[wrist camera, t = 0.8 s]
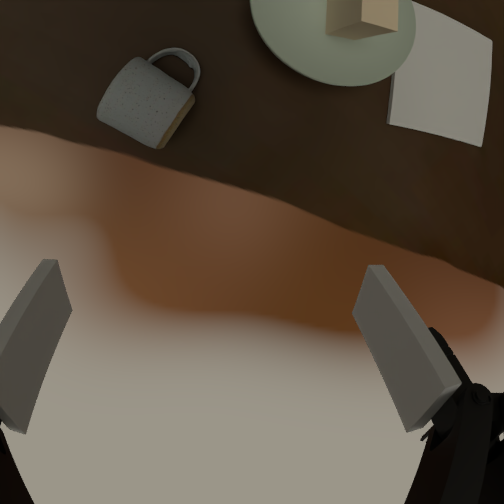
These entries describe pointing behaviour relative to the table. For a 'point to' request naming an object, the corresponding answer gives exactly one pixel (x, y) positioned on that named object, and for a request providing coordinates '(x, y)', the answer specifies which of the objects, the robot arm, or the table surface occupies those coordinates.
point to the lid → (338, 37)
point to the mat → (443, 80)
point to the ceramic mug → (148, 99)
